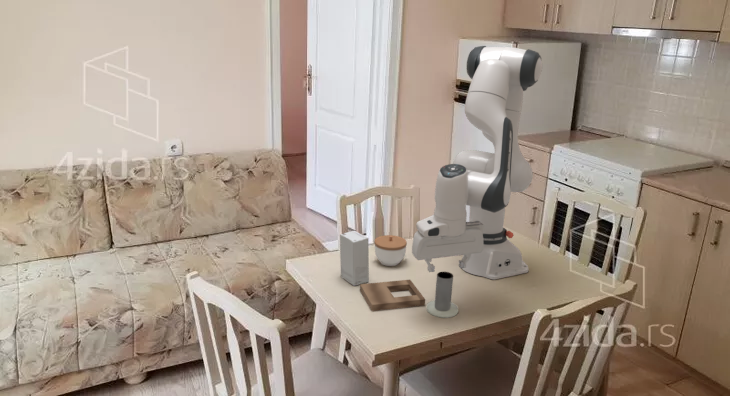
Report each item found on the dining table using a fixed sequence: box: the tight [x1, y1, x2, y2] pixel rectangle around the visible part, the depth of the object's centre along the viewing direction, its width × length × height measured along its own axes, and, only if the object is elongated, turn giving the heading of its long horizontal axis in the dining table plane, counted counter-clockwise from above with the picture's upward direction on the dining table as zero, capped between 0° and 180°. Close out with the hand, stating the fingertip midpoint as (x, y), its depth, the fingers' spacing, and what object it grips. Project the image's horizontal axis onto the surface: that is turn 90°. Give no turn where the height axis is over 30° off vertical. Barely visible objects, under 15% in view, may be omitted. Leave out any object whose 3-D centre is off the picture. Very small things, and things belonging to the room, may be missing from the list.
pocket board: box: [359, 279, 426, 312], centre depth 176 cm, size 16×13×2 cm
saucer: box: [426, 299, 459, 319], centre depth 170 cm, size 9×9×1 cm
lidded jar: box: [374, 234, 408, 267], centre depth 199 cm, size 11×11×9 cm
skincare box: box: [339, 230, 370, 287], centre depth 185 cm, size 8×6×15 cm
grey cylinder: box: [434, 271, 454, 311], centre depth 169 cm, size 4×4×10 cm
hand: (446, 269), depth 167 cm, fingers open, 8 cm apart
